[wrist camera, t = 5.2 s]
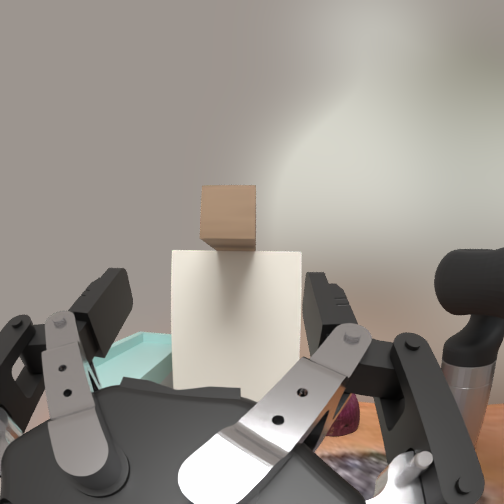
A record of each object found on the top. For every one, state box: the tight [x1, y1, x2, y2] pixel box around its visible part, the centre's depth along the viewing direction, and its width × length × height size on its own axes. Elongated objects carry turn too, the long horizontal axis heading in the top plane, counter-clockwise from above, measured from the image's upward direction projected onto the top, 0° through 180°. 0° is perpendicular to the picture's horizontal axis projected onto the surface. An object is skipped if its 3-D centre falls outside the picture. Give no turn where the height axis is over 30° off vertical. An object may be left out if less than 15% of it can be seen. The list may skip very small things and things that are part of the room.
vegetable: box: [326, 393, 360, 436], centre depth 49 cm, size 10×10×15 cm
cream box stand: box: [171, 250, 302, 402], centre depth 32 cm, size 12×12×32 cm
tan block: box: [200, 185, 256, 251], centre depth 30 cm, size 22×4×4 cm, turn 179°
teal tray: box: [93, 332, 173, 388], centre depth 33 cm, size 26×9×2 cm, turn 179°
